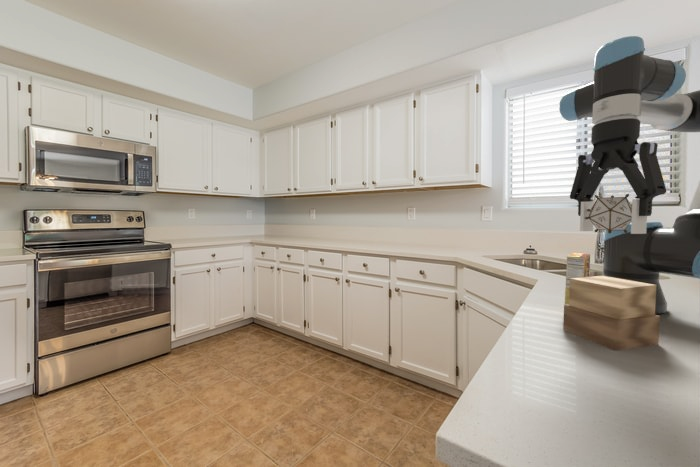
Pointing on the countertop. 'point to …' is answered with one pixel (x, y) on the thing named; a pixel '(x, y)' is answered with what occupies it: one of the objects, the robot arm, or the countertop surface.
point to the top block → (613, 296)
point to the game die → (611, 213)
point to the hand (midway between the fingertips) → (610, 232)
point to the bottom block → (612, 329)
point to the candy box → (576, 269)
